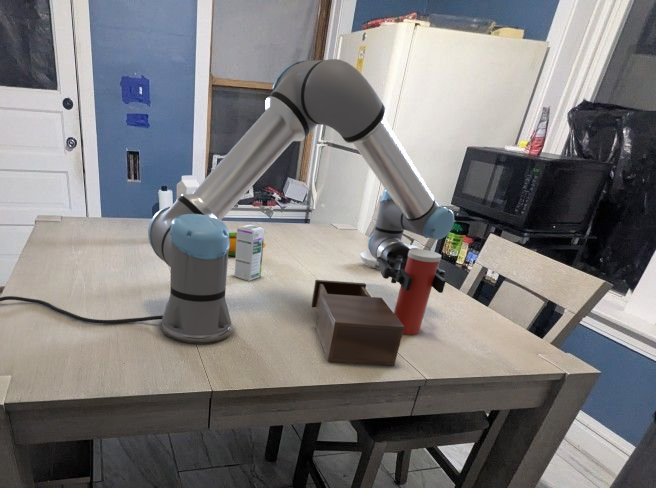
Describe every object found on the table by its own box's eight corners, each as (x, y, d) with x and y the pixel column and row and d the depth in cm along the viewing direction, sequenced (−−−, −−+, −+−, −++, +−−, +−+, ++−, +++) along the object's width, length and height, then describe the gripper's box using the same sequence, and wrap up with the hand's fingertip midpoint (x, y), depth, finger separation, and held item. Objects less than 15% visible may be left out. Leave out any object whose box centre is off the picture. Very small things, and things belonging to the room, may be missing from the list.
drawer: (308, 299, 126) (312, 274, 123) (355, 302, 127) (361, 277, 124) (320, 330, 109) (325, 301, 106) (374, 333, 110) (381, 305, 106)
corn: (206, 228, 160) (263, 229, 165) (204, 251, 164) (260, 250, 169) (211, 235, 154) (270, 235, 159) (209, 258, 158) (267, 258, 163)
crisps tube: (398, 335, 112) (418, 257, 103) (385, 323, 118) (403, 248, 109) (425, 335, 113) (447, 258, 105) (410, 323, 119) (431, 249, 110)
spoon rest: (367, 271, 157) (372, 249, 153) (352, 261, 167) (356, 240, 163) (432, 272, 162) (438, 250, 158) (414, 262, 172) (419, 241, 168)
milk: (175, 239, 175) (176, 174, 165) (189, 238, 179) (190, 173, 168) (185, 243, 171) (186, 176, 161) (199, 241, 175) (201, 176, 164)
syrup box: (249, 281, 139) (254, 230, 132) (233, 276, 142) (237, 225, 135) (260, 277, 143) (265, 227, 136) (244, 272, 146) (248, 223, 139)
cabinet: (315, 328, 112) (321, 293, 108) (373, 332, 112) (381, 297, 108) (327, 361, 98) (335, 322, 93) (394, 366, 98) (404, 326, 94)
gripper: (428, 273, 127) (464, 305, 107) (355, 268, 127) (377, 299, 107) (436, 245, 124) (475, 272, 104) (360, 239, 123) (385, 265, 103)
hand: (425, 285), depth 105 cm, fingers closed on crisps tube, 7 cm apart
